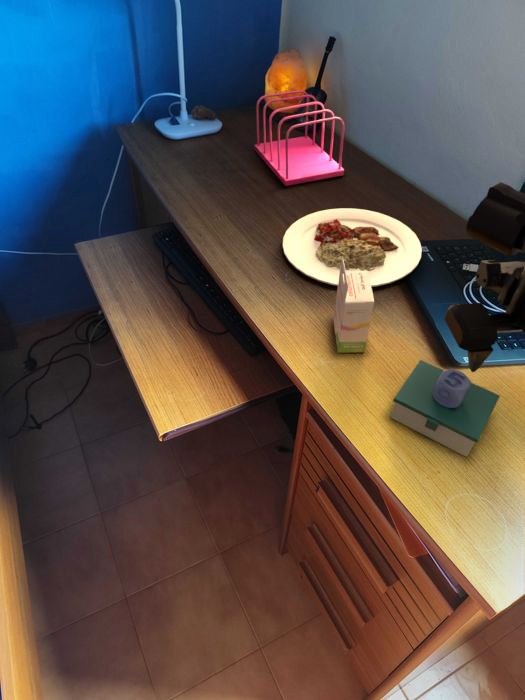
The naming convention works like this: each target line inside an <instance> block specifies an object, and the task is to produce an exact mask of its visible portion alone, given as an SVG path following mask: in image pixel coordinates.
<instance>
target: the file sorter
mask: <svg viewBox="0 0 525 700" xmlns="http://www.w3.org/2000/svg"><path fill="white" fill-rule="evenodd" d="M293 94H302V95H295V96H289V97H287V95H293ZM280 96H286V97H282V98H281V97H280ZM273 97H280V98H274V99H270V100H268V101H267V102H266V103H265V104H264V106H263V109H262V132H263V142H261V143H260V120H259V118H260V117H259V116H260V115H259V113H260V112H259V108H260V107H259V105H260V103H261V101H263V100H264V99H266V98H273ZM305 98H306V103H299V104H296V105H290V106H285V107H281V108H277V109H275V110H273V111H272V112H271V114H270V116H269V118H268V134H269V135H268V136H269V142H268V141H267V139H266V135H267V133H266V109H267V107H268V106H269V105H270V104H272V103H277V102H283V101H291V100H297V99H305ZM310 98H311V99H313V101H310ZM313 105H314V111H310V112H309V108H310V106H313ZM318 105H319V106H320V107H321V110H320V109H319V110H318ZM302 107H306V110H305V112H304V113H298V114H292V115H288V116H284V117H282V119H281V120H280V121H279V123H278V125H277V140H274V141H273V133H272V119H273V117H274V115H275V114H276V113H279V112H284V111H288V110H293V109H298V108H302ZM255 112H256V114H255V115H256V116H255V117H256V144H255V143H254V151H255V152H256V153H257V154H258V156H259V157H260V158H261V159H262V160H263V162H264V163H265V164H266V166H268V168H269V169H270V170H271V171H272V172H273V173H274V175H275V176H276V177H277V178H278V180H279V181H280V182H281V183H282V184H283V185H284V187H289V186H293V185H299V184H305V183H310V182H315V181H319V180H326V179H330V178H335V177H341V176H344V174H345V169H344V168H343V167H342V160H343V159H342V158H343V149H344V136H345V122H344V120H343V119H342V118H341V117H339V116H335V113H334V112H333V111H332V110H330V109H325V105H324V104H323V103H322V102H320V101H317V98H316V97H315V96H314V95H312V94H308V93H307V92H306V91H305V90H303V89H301V90H300V89H299V90H292V91H285V92H278V93H271V94H265V95H262V96H260V98H259V99H258V100H257V102H256V106H255ZM326 113H329V114H330V116H331V117H328V118H327V117H326V116H325V115H326ZM317 114H321V119H317ZM311 115H313V120H312V121H309V116H311ZM300 117H305V122H302V123H297V124H294V125H292V126H290V127H289V129H288V130H287V131H286V133H285V139H281V126H282V125H283V123H284V122H285V121H287V120H289V119H296V118H300ZM325 117H326V118H325ZM335 120H336V121H339V122H340V123H341V131H340V144H339V156H338V163H337V161H335V160H334V159H333V147H334V136H335V135H334V134H335ZM325 122H331V133H330V145H329V147H330V148H329V154H328V153H327V152H326V151H325V150H324V138H325ZM320 123H321V138H320V139H321V140H320V146H319V145H318V144H317V143H316V129H317V127H316V126H317V124H320ZM309 125H313V130H312V138H311V137H309V135H308V126H309ZM299 127H304V128H305V129H304V136H298V137H297V136H296V137H292V138H289V135H290V133H291V131H293V130H294V129H296V128H299ZM255 147H256V148H257V149H258V151H259V152H260V153H261V155H262V156H263V157H264V158H263V157H262V156H261V155H260V153H259V152H258V151H257V150H256V149H255ZM265 160H266V161H267V162H266V161H265Z"/></svg>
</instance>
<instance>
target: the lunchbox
mask: <svg viewBox="0 0 525 700" xmlns="http://www.w3.org/2000/svg"><path fill="white" fill-rule="evenodd" d="M443 371H444V369H442V368H439V367H437V366H435V365H433V364H431V363H428V362H426V361H424V360H422V359H419V361H417V364H416V365H415V367H414V368H413V369H412V371H411V372H410V374H409V375H408V377H407V378H406V379H405V382H403V384H402V386H401V387H400V389H399V390H398V392H397V393H396V394H395V396H394V397H393V402H394V404H393V407H392V410H391V414H390V419H392V420H395V421H396V422H399V423H400V424H403V425H404V426H406V427H408V428H410V429H412V430H413V431H416V432H418V433H420V434H422V435H423V436H425V437H427V438H429V439H431V440H433V441H435V442H436V443H439V444H441V445H442V446H445V447H447V448H449V449H450V450H452V451H454V452H455V453H458V454H459V455H462V456H463V457H466V458H467V457H468V456H469V454H470V452H471V451H472V449H473V447H474V445H475V443H476V444H477V443H478V442H479V440H480V437H481V435H482V434H483V432H484V430H485V427H486V425H487V423H488V421H489V419H490V417H491V415H492V413H493V411H494V409H495V407H496V405H497V403H498V401H499V399H500V396H501V395H500V394H497V393H496V392H493V391H491V390H489V389H486V388H485V387H482V386H480V385H478V384H475V383H473V382H471V387H470V389H469V391H468V393H467V394H466V396H465V398H464V399H463V401H462V403H461V404H460V406H459V407H456V408H448V407H445V406H442V405H441V404H439V403H438V402H437V401H436V400H435V399H434V397H433V395H432V390H433V387H434V385H435V383H436V381H437V380H438V378H439V376H440V375H441V374H442V372H443Z"/></svg>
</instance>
